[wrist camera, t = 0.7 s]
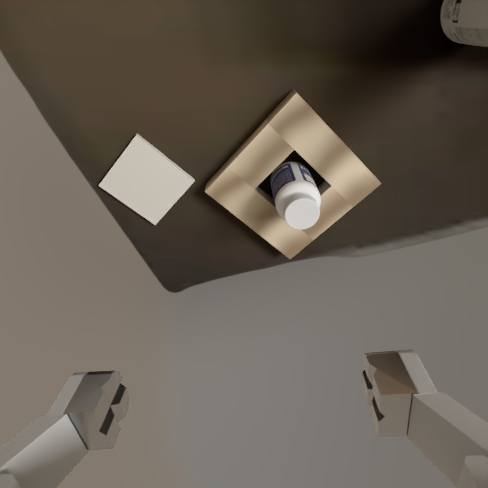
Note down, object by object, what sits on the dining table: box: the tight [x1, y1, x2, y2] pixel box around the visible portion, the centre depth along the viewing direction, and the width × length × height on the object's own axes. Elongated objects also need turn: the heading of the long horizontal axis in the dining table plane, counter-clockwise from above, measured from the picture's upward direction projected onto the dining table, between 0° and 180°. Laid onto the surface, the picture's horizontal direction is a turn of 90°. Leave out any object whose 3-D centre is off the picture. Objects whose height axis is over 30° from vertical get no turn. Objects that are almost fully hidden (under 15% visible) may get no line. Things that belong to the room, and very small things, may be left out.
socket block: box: [205, 89, 381, 259], centre depth 45 cm, size 16×16×2 cm
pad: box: [99, 134, 195, 225], centre depth 46 cm, size 9×9×1 cm
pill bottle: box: [271, 162, 321, 230], centre depth 42 cm, size 5×5×10 cm
